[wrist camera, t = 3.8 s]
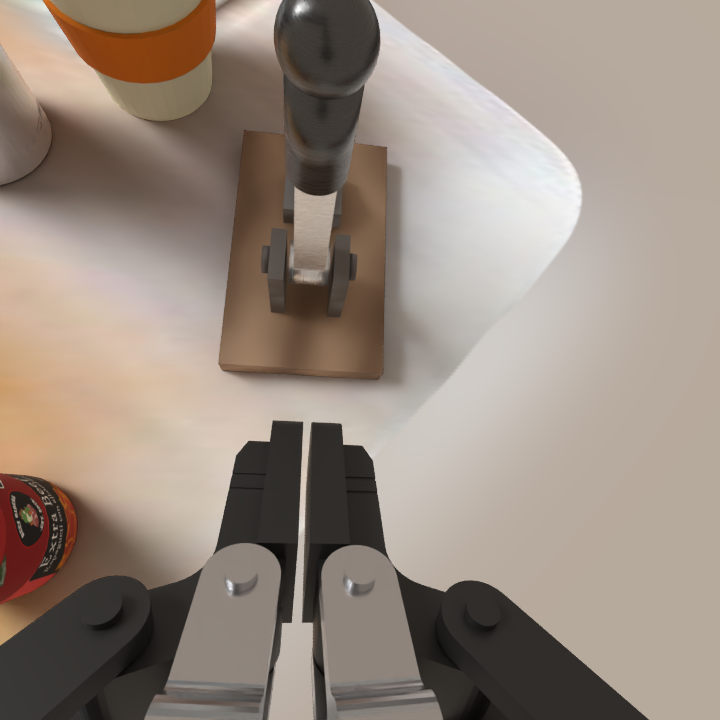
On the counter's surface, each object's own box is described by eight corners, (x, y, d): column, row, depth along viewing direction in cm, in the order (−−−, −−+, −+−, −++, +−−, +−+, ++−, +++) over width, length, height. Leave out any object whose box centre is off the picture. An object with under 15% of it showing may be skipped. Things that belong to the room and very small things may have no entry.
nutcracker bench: (222, 370, 37) (204, 338, 29) (246, 146, 42) (236, 70, 35) (378, 379, 39) (400, 351, 31) (382, 162, 44) (402, 92, 36)
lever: (280, 294, 33) (267, 26, 14) (284, 246, 34) (276, -65, 15) (333, 298, 34) (389, 44, 15) (335, 251, 35) (390, -46, 16)
